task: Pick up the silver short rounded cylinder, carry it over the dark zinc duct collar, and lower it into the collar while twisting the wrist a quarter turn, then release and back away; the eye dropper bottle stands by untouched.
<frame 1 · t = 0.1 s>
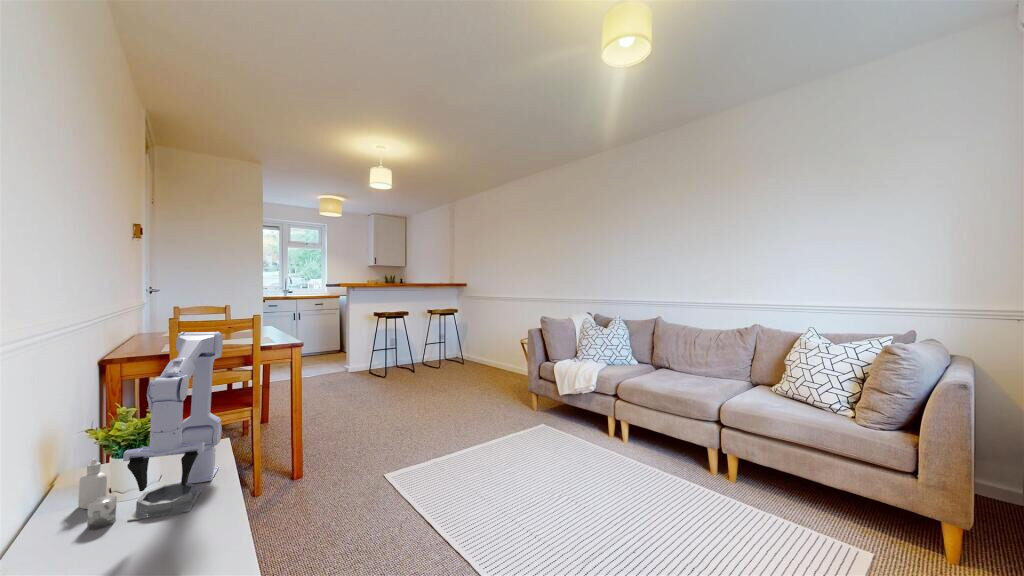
hand: (164, 486, 95), 10 cm above the table, fingers open, 7 cm apart
eye dropper bottle: (92, 506, 104), on the table
duct collar: (167, 504, 105), on the table
silver short rounded cylinder: (101, 524, 96), on the table
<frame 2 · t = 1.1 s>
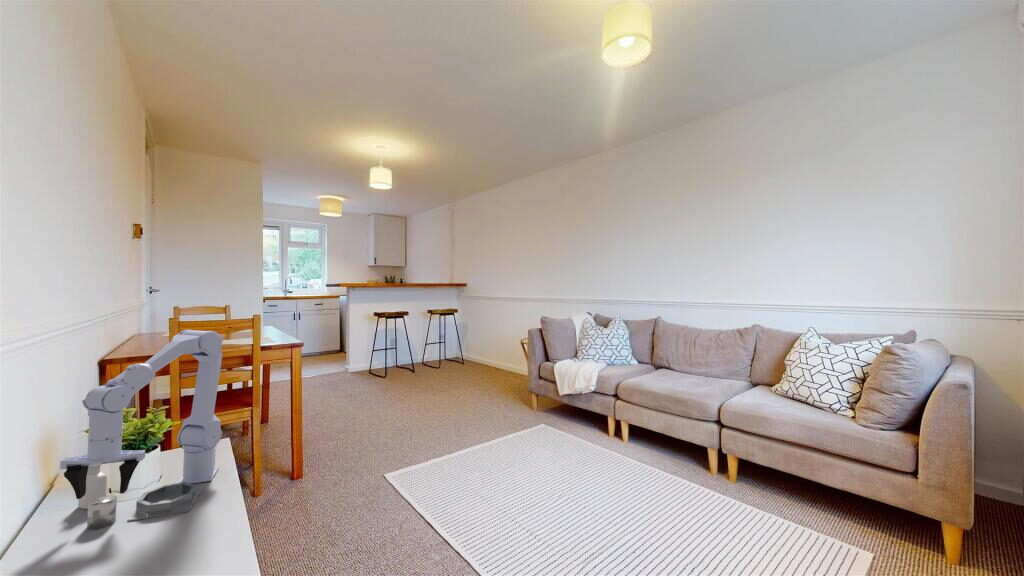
hand: (102, 494, 96), 7 cm above the table, fingers open, 7 cm apart
nothing on the table moved.
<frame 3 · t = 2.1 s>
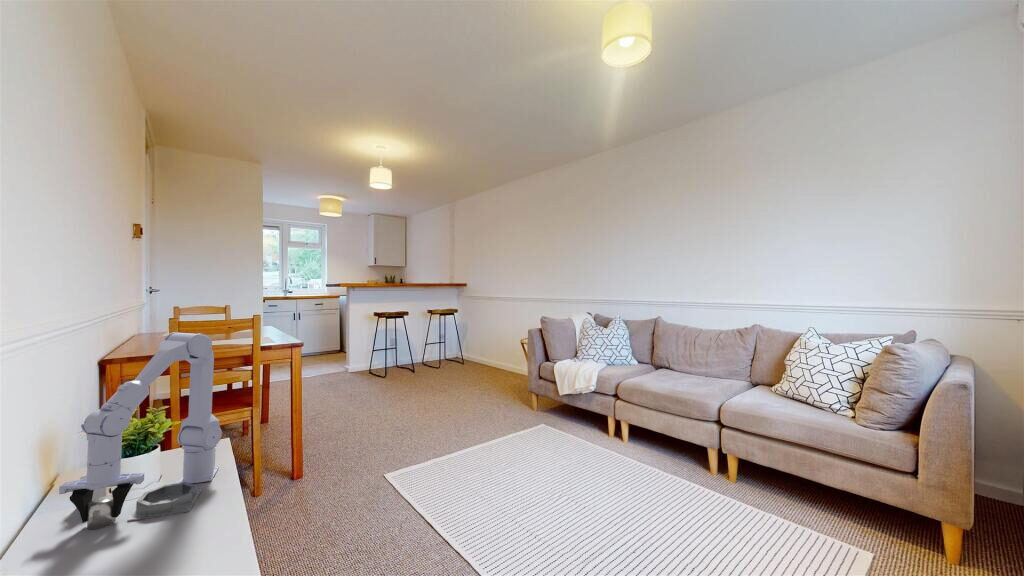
hand: (101, 517, 96), 1 cm above the table, fingers closed on silver short rounded cylinder, 5 cm apart
silver short rounded cylinder: (101, 523, 96), on the table, touching gripper
everything else where it was.
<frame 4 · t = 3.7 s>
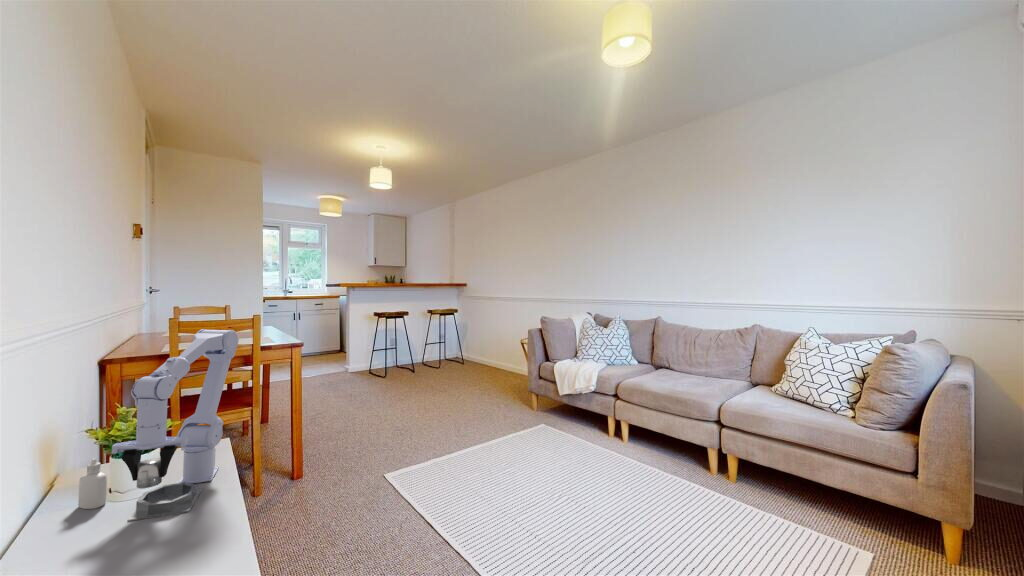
hand: (150, 477, 103), 8 cm above the table, fingers closed on silver short rounded cylinder, 5 cm apart
silver short rounded cylinder: (149, 483, 102), point 7 cm above the table, touching gripper
everything else where it was.
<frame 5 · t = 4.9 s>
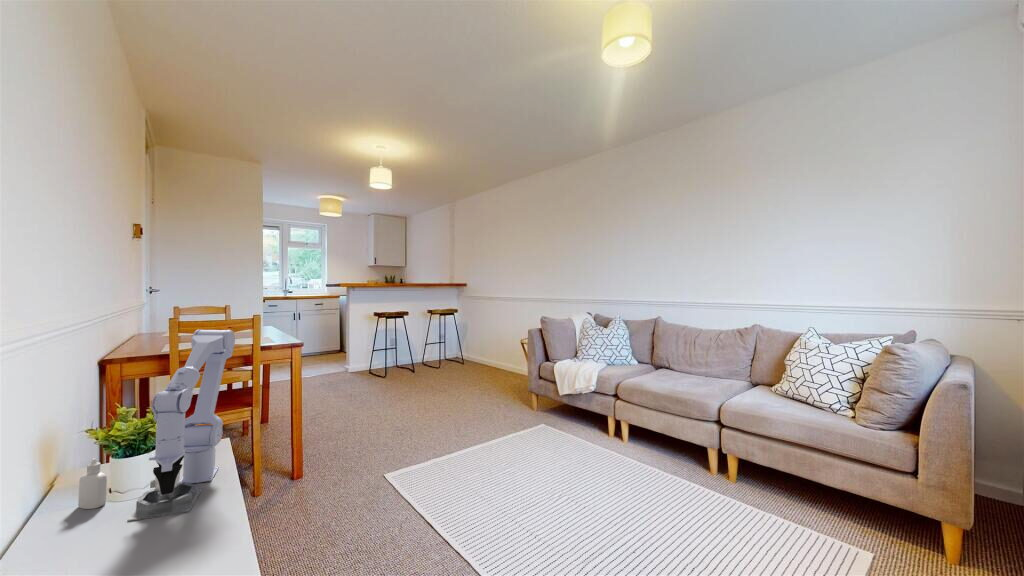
hand: (168, 489, 105), 4 cm above the table, fingers closed on silver short rounded cylinder, 5 cm apart
silver short rounded cylinder: (166, 495, 105), point 3 cm above the table, touching gripper
everything else where it was.
when the fingers open (3 cm above the table, at t = 5.5 s): silver short rounded cylinder drops 1 cm, resting on duct collar.
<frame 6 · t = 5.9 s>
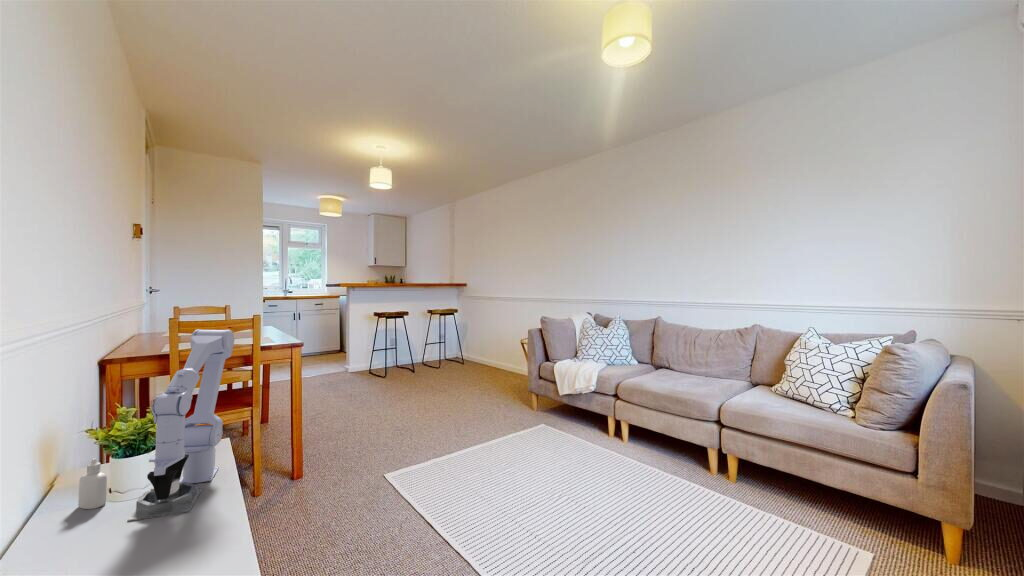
hand: (168, 491, 105), 3 cm above the table, fingers open, 7 cm apart
silver short rounded cylinder: (166, 503, 105), resting on duct collar
everything else where it was.
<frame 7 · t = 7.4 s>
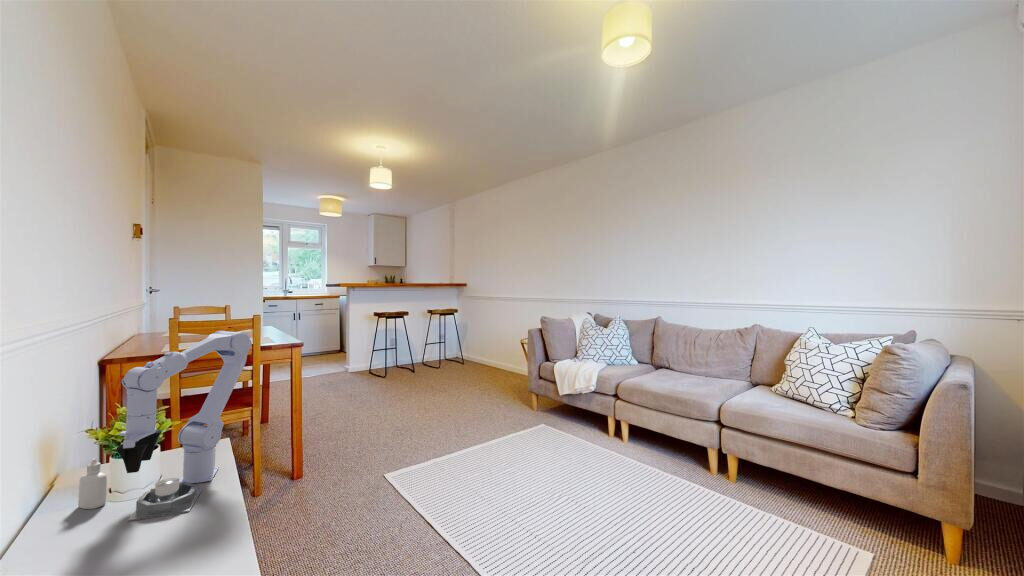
hand: (139, 465, 105), 10 cm above the table, fingers open, 7 cm apart
nothing on the table moved.
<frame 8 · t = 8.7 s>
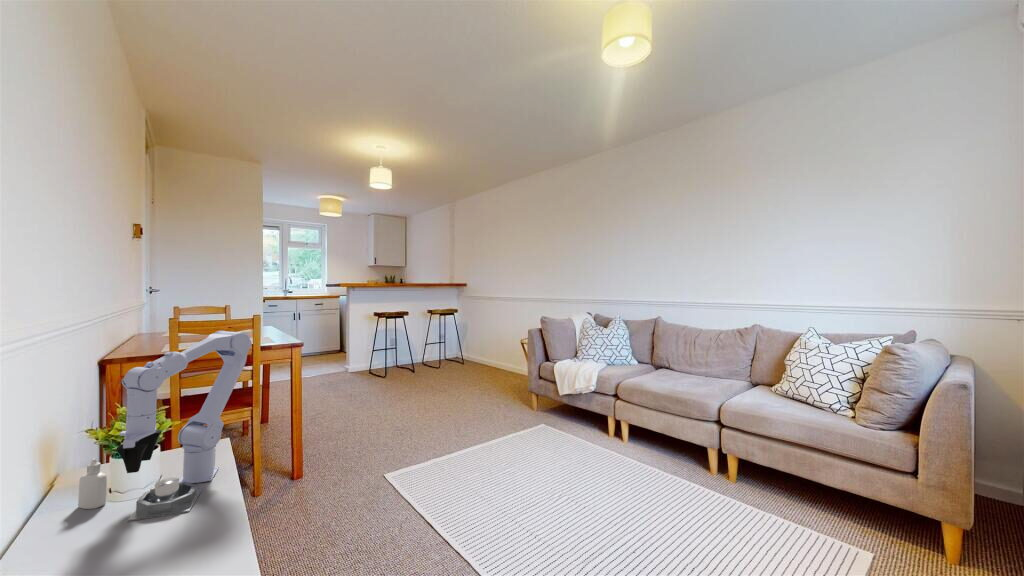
hand: (139, 465, 105), 10 cm above the table, fingers open, 7 cm apart
nothing on the table moved.
at the end: silver short rounded cylinder 0.2 cm from the duct collar (horizontally); silver short rounded cylinder point 0.5 cm above the table; silver short rounded cylinder tilted 1° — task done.
